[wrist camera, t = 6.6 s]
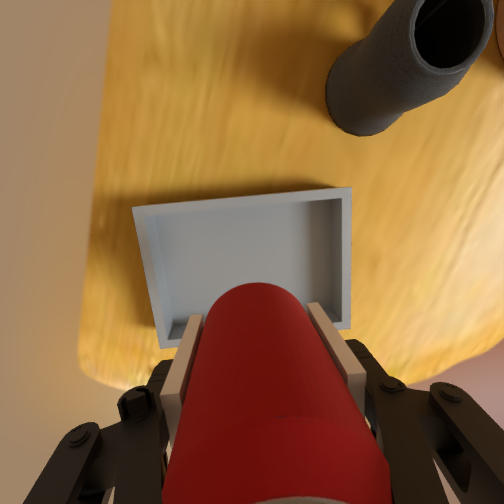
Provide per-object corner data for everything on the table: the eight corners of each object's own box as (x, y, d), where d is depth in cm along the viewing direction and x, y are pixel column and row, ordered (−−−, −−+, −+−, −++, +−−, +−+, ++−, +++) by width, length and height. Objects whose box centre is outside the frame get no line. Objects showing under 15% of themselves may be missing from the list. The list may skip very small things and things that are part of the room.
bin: (145, 204, 29) (131, 207, 25) (336, 187, 29) (351, 186, 26) (169, 329, 33) (160, 348, 29) (337, 312, 33) (350, 328, 29)
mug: (381, 150, 29) (468, 127, 18) (310, 114, 28) (356, 66, 17) (439, 37, 26) (580, -70, 15) (364, -8, 25) (459, -160, 14)
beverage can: (228, 380, 18) (210, 723, 6) (188, 299, 16) (68, 563, 5) (317, 347, 18) (466, 644, 6) (286, 261, 16) (406, 446, 5)
